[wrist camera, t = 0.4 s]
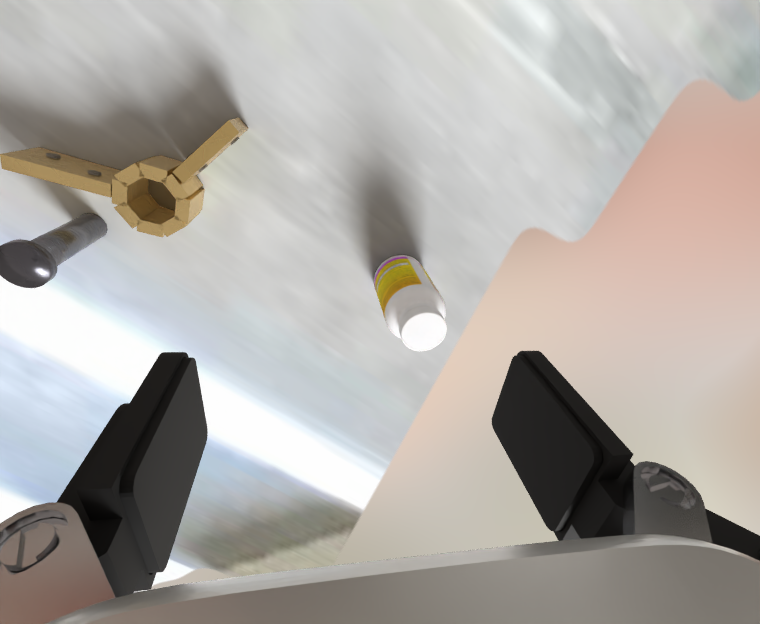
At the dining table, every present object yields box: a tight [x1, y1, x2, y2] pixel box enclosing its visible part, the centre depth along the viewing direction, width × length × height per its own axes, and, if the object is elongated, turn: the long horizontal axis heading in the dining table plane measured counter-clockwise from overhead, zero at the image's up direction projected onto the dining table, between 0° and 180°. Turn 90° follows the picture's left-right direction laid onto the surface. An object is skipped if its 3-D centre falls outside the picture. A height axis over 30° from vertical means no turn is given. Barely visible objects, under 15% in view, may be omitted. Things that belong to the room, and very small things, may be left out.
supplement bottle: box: [374, 255, 447, 351], centre depth 42 cm, size 7×7×13 cm
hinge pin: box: [0, 213, 107, 288], centre depth 34 cm, size 4×4×11 cm
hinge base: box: [0, 147, 204, 237], centre depth 35 cm, size 6×14×5 cm, turn 70°
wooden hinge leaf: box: [173, 118, 248, 183], centre depth 35 cm, size 7×2×5 cm, turn 126°
